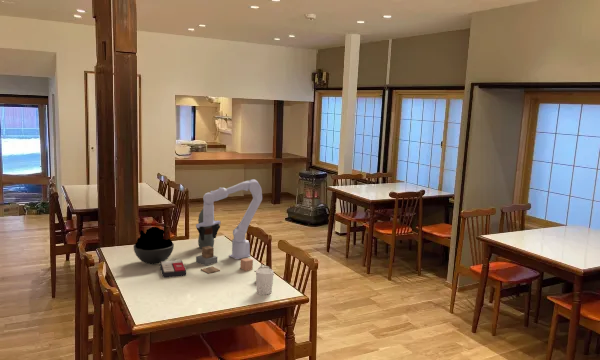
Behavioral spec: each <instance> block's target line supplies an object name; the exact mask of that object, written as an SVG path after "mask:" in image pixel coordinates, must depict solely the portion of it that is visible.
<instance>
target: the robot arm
mask: <svg viewBox="0 0 600 360" xmlns="http://www.w3.org/2000/svg"><path fill="white" fill-rule="evenodd" d="M240 191H245V192H248V191H249V192H250V193H251V196H252V200H251V201H250V203H249V205H248V206H247V207H248V208H247V209H246V211H245V213H244V214H243V216H242V219H241V221H240V222H239V223H238V224H237V227H235V228H234V229H232V235H233V239H232V241H231V244H232V245H231V254H229V255H228V257H230V258H233V259H235V260H241V259H244V258H249V257H251V255H250V252H251V251H250V248H251V246H250V242H249V240H247V239H246V234H247V231H248V228H249V226H250V224H251V222H252V220H253V218H254V217H255V214H256V212H257V210H258V209H259V207H260V205H261V203H262V201H263V192H262V191H263V188H262V187H261V185H260V183H259V181H258V180H257V179H256V178H255V179H254V178H253V179H252V178H251V179H250V180H244V181H241V182H239V183H237V184H235V185H231V186H229V187H227V188H225V187H218V189H215V190H210V192H206V193H204V194H203V197H202V198H203V206H202V209H203V222H202V223H196V224H195V227H196V230H197V231H198V235H199V234H200V238H201V240H204V233H205V229H204V228H203V227H206V226H212V232H213V233H212V236H213V238H214V239H216V238H217V234H218V232H219V230H220V228H221V220H215V205H214V202H218V201H220V200H223V199H227V198H228V197H229V195H230V194H234V193H237V192H240ZM214 220H215V221H214Z"/></svg>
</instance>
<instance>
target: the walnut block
mask: <svg viewBox="0 0 600 360" xmlns="http://www.w3.org/2000/svg"><path fill="white" fill-rule="evenodd" d="M214 251H215V249H214V246H213V247H211V246H206V247H202V249H201V255H202V257H204V258H211V257H213V256H215V255H214Z"/></svg>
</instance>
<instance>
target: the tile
mask: <svg viewBox="0 0 600 360" xmlns="http://www.w3.org/2000/svg"><path fill="white" fill-rule="evenodd" d="M200 271H201V272H204V273H206V274H213V273H218V272H220V271H221V269H219V268H217V267H215V266H213V265H212V266H208V267H204V268H203V267H202V268H200Z"/></svg>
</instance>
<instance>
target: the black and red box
mask: <svg viewBox="0 0 600 360" xmlns="http://www.w3.org/2000/svg"><path fill="white" fill-rule="evenodd" d="M159 270H160V273H161V275H162V278H164V279H167V278H168V279H169V278H176V277H178V278H179V277H186V276H187V269H186V266H185V265H184V262H183V260H181V259H174V260H165V261H161V262H160V263H159Z"/></svg>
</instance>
